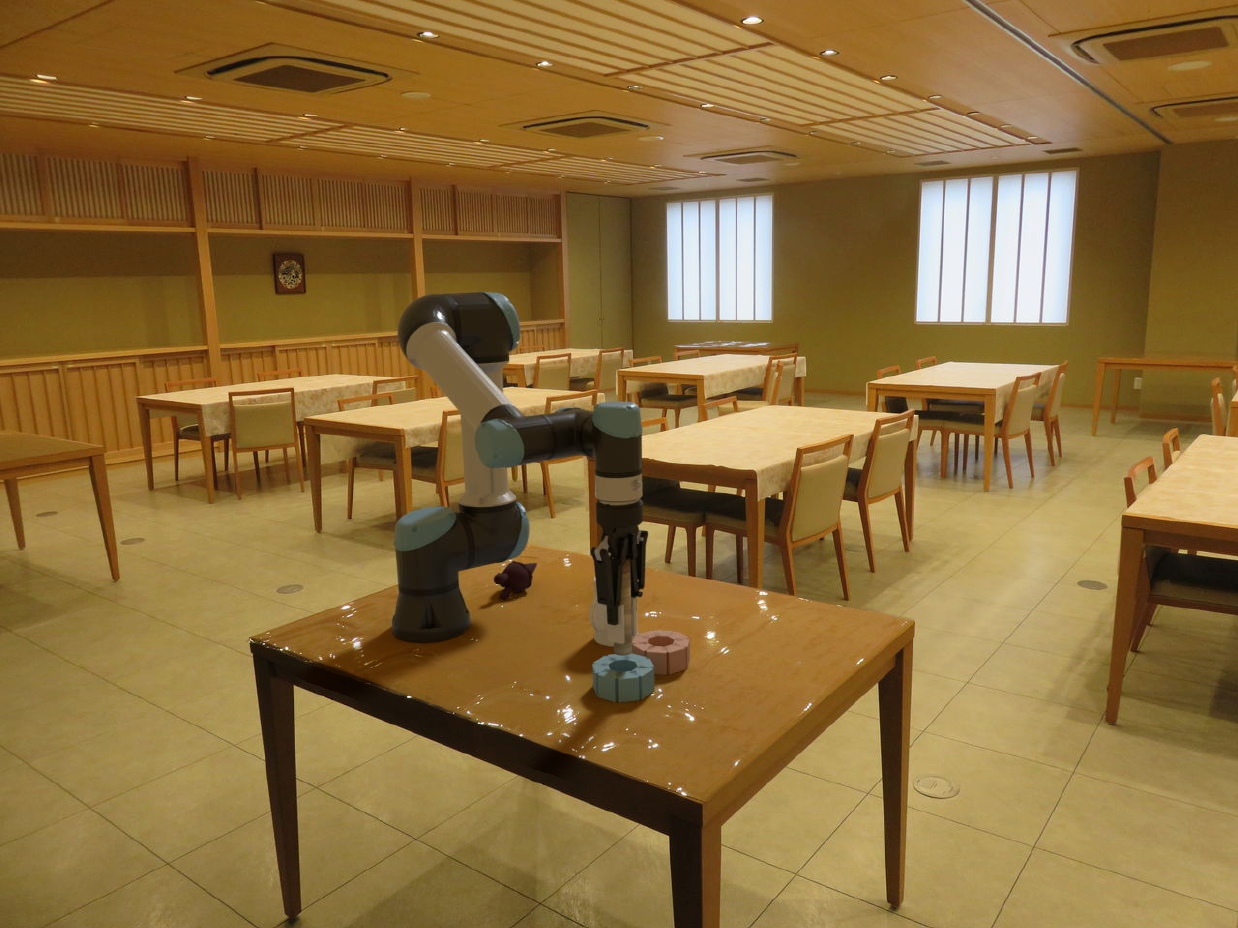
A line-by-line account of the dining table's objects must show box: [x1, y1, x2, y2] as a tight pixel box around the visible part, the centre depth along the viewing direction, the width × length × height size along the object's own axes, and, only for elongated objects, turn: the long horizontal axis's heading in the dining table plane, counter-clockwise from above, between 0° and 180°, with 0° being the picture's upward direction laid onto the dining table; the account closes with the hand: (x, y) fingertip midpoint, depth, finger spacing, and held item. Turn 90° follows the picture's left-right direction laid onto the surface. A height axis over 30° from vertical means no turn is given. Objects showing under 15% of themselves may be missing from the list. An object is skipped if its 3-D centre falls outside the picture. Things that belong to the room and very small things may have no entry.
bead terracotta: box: [632, 629, 691, 676], centre depth 160 cm, size 10×10×4 cm
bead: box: [591, 653, 655, 703], centre depth 150 cm, size 10×10×4 cm
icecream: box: [493, 560, 538, 601], centre depth 198 cm, size 7×7×15 cm
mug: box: [589, 576, 639, 648], centre depth 169 cm, size 12×8×12 cm
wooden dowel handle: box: [613, 558, 632, 656], centre depth 148 cm, size 3×3×16 cm
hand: (622, 637), depth 149 cm, fingers closed on wooden dowel handle, 3 cm apart
